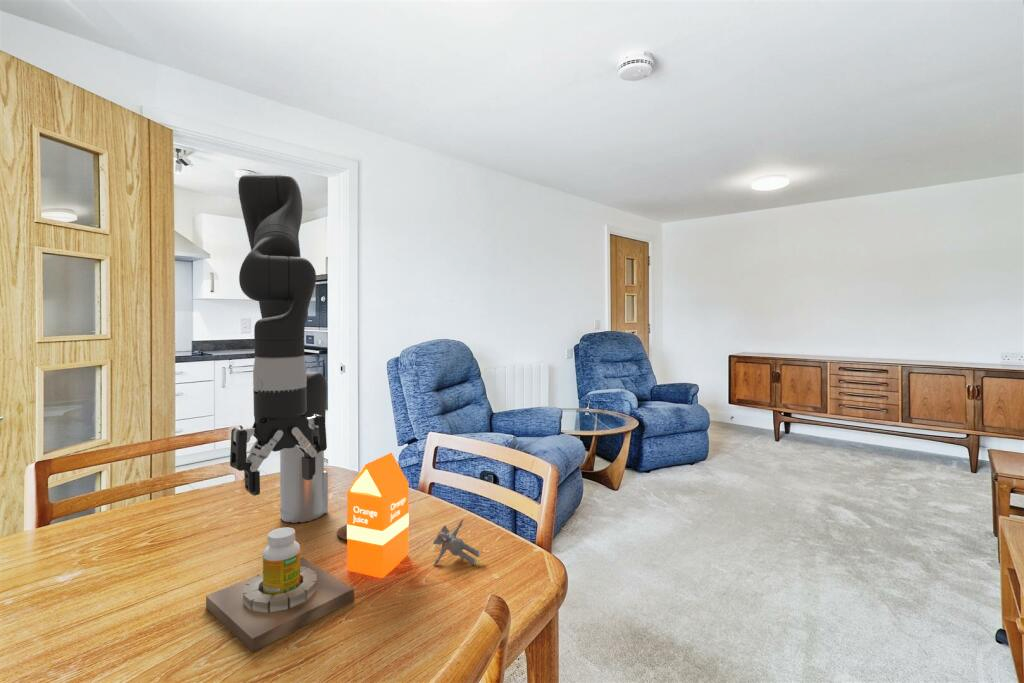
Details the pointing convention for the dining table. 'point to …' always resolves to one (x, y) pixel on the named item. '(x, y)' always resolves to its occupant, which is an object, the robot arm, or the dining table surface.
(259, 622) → the stone ring base
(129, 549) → the dining table surface
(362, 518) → the orange juice
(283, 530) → the supplement bottle
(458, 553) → the grey plastic figure
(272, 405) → the robot arm
